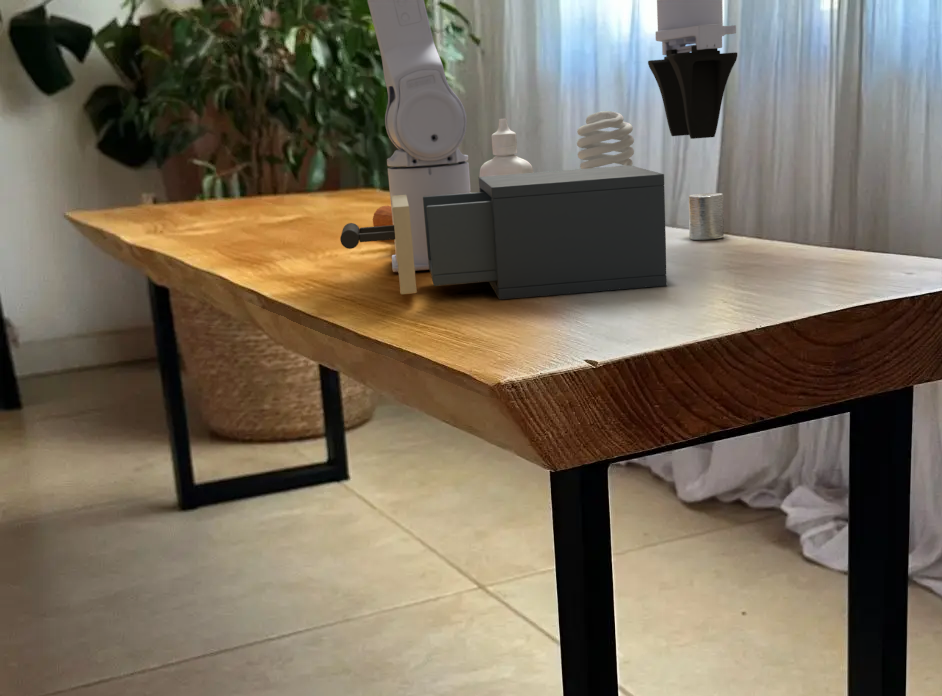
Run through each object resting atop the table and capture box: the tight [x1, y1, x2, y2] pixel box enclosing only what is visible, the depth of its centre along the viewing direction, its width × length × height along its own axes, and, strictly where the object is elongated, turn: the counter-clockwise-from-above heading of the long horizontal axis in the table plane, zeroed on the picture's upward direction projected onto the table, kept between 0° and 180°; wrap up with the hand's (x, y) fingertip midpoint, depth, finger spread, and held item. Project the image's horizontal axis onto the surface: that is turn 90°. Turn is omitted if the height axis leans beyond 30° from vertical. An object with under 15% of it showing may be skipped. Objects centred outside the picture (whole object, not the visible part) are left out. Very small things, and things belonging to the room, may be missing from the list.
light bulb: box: [576, 110, 635, 169], centre depth 122 cm, size 6×6×12 cm
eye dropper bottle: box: [479, 118, 534, 177], centre depth 122 cm, size 4×6×12 cm
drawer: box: [339, 191, 497, 295], centre depth 95 cm, size 16×11×6 cm
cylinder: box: [688, 192, 725, 241], centre depth 116 cm, size 3×3×4 cm
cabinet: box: [478, 165, 668, 301], centre depth 96 cm, size 13×13×8 cm
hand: (692, 136), depth 112 cm, fingers open, 7 cm apart
